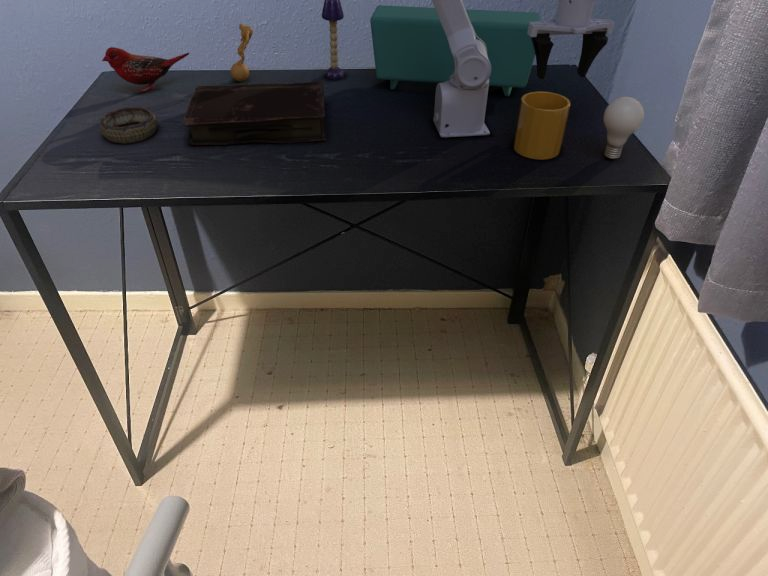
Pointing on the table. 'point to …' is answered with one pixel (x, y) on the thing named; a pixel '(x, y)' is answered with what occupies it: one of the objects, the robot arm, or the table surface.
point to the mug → (541, 125)
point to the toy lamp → (333, 35)
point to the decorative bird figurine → (139, 67)
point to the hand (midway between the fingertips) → (560, 76)
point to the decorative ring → (126, 116)
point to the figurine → (242, 55)
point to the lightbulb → (621, 123)
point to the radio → (432, 51)
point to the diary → (257, 114)
